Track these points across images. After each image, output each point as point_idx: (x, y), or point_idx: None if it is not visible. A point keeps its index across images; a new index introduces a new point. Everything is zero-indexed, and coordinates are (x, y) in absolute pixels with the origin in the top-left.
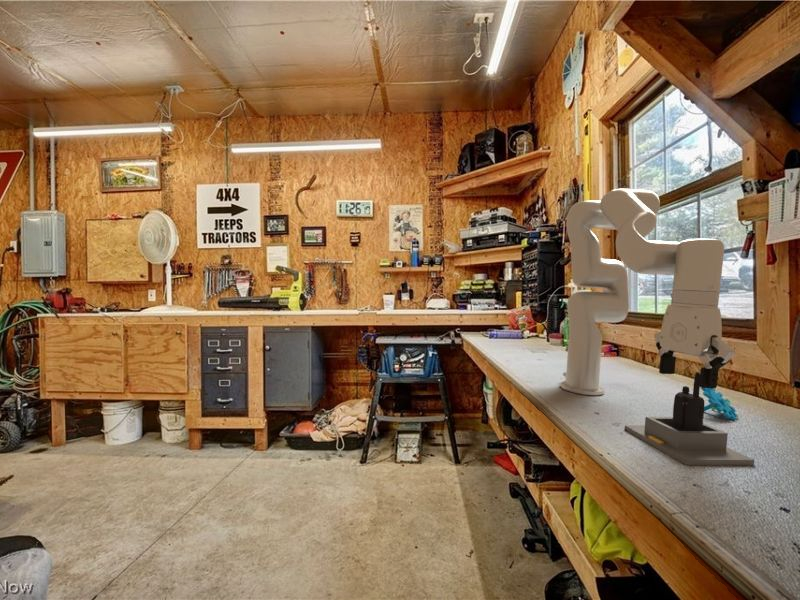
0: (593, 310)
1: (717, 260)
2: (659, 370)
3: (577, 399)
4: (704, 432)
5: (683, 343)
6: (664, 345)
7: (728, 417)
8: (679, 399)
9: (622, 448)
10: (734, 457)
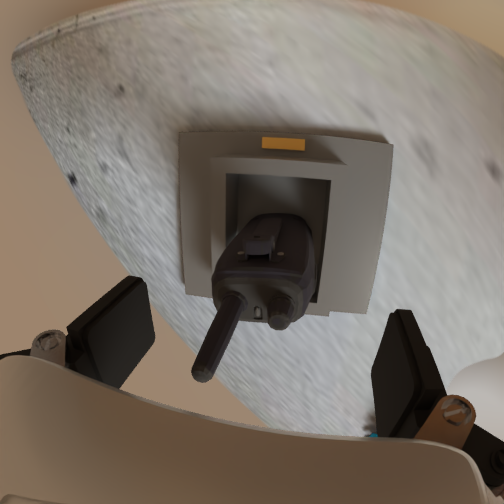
0: None
1: None
2: (411, 314)
3: None
4: (216, 244)
5: (52, 466)
6: (401, 466)
7: (370, 435)
8: (249, 235)
9: (269, 40)
10: (193, 264)
